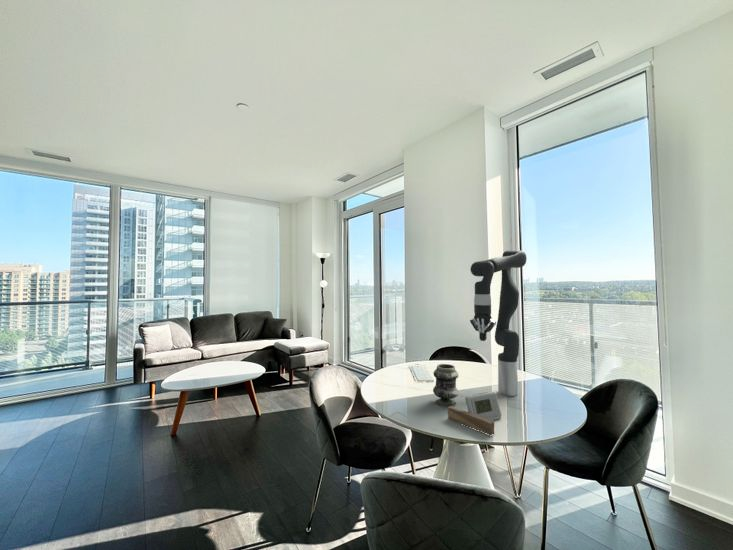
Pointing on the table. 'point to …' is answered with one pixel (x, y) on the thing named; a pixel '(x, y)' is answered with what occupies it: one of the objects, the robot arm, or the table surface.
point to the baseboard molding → (421, 373)
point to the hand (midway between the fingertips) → (482, 340)
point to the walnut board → (471, 420)
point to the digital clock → (484, 405)
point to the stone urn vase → (445, 385)
